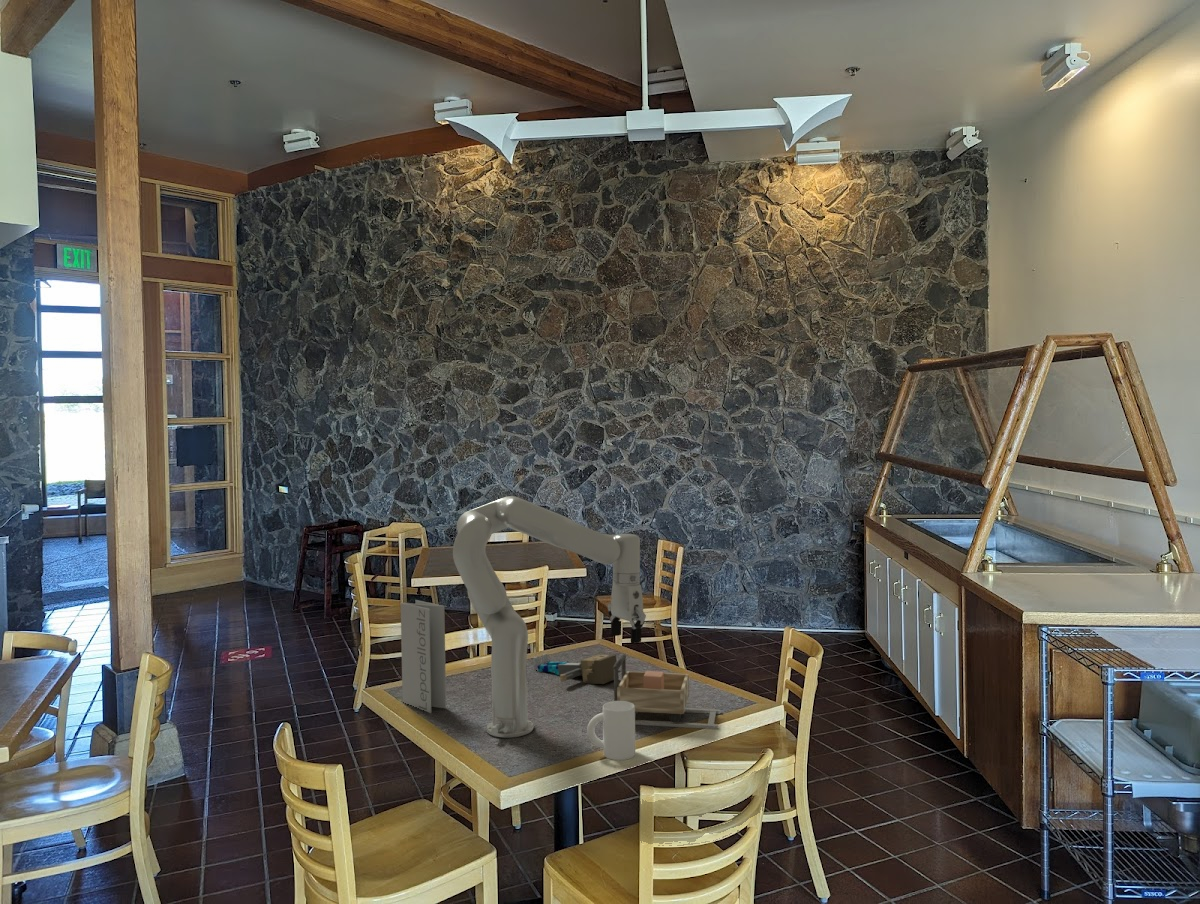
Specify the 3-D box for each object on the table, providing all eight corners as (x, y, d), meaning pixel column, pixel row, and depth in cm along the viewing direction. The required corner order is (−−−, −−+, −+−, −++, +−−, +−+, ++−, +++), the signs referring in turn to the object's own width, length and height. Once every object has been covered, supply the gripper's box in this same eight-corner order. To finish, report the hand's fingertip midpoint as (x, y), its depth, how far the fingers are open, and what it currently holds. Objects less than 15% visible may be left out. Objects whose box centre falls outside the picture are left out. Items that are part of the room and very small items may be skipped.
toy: (563, 647, 289) (631, 647, 271) (566, 669, 289) (635, 670, 271) (512, 664, 269) (582, 665, 250) (515, 688, 268) (585, 691, 250)
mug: (586, 748, 206) (586, 701, 206) (633, 746, 207) (633, 699, 207) (587, 761, 198) (587, 712, 198) (636, 759, 199) (636, 710, 198)
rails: (717, 729, 218) (717, 726, 218) (622, 723, 224) (622, 720, 223) (720, 712, 231) (720, 709, 231) (629, 707, 237) (629, 704, 237)
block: (643, 701, 226) (643, 675, 226) (646, 695, 231) (646, 670, 231) (661, 702, 225) (661, 676, 225) (664, 696, 230) (663, 671, 230)
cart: (683, 724, 219) (682, 669, 219) (612, 721, 223) (611, 666, 222) (689, 705, 235) (688, 653, 234) (622, 702, 238) (621, 651, 238)
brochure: (402, 702, 244) (400, 602, 244) (418, 698, 248) (416, 599, 248) (430, 713, 235) (428, 609, 234) (446, 708, 239) (444, 606, 238)
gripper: (655, 581, 224) (654, 643, 224) (619, 572, 238) (619, 631, 239) (633, 584, 220) (632, 647, 220) (598, 575, 234) (597, 634, 235)
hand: (625, 639), depth 229 cm, fingers open, 9 cm apart
